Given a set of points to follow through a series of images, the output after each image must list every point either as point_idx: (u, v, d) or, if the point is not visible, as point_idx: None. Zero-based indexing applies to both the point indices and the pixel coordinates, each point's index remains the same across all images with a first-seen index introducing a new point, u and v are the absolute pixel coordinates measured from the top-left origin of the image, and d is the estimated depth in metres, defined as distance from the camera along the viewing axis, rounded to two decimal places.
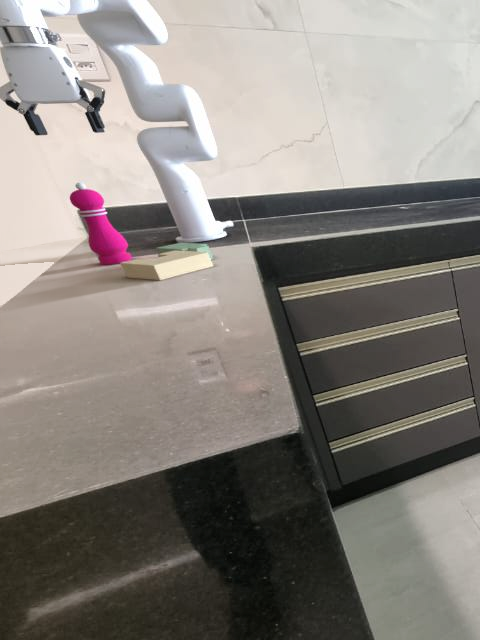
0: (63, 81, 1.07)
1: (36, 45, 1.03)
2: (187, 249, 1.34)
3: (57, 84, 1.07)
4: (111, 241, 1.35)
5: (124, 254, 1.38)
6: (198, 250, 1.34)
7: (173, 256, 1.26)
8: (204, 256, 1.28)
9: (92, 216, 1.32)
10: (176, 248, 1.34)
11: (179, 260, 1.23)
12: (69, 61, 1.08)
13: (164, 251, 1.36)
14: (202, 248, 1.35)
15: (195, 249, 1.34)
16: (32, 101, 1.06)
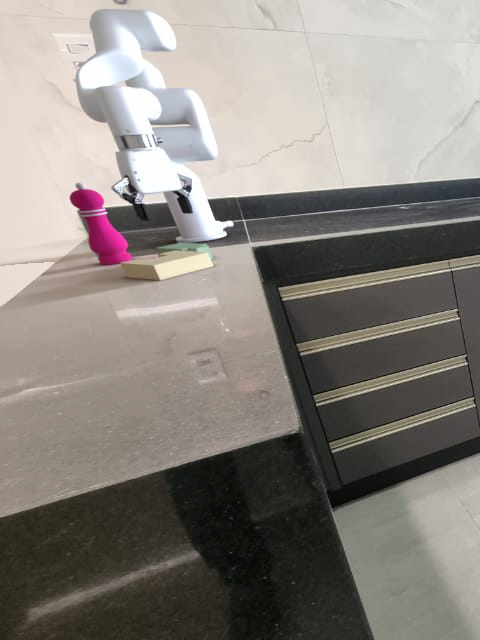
0: (173, 175, 1.32)
1: (158, 148, 1.28)
2: (187, 249, 1.34)
3: (169, 177, 1.31)
4: (111, 241, 1.35)
5: (124, 254, 1.38)
6: (198, 250, 1.34)
7: (173, 256, 1.26)
8: (204, 256, 1.28)
9: (92, 216, 1.32)
10: (176, 248, 1.34)
11: (179, 260, 1.23)
12: None
13: (164, 251, 1.36)
14: (202, 248, 1.35)
15: (195, 249, 1.34)
16: (149, 192, 1.28)
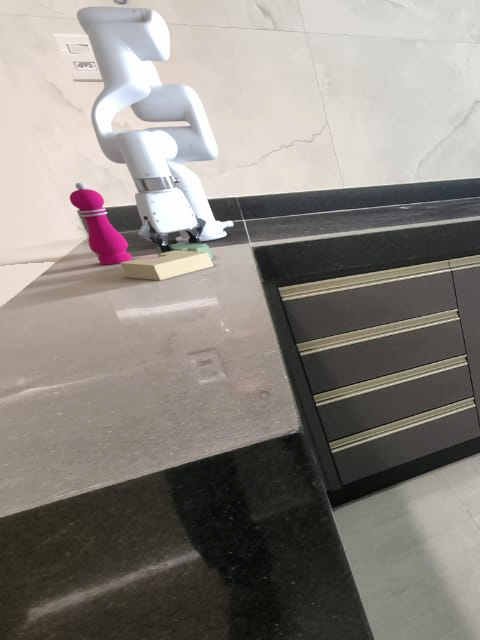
0: (189, 213, 1.36)
1: (175, 189, 1.32)
2: (187, 249, 1.34)
3: (186, 216, 1.36)
4: (111, 241, 1.35)
5: (124, 254, 1.38)
6: (198, 250, 1.34)
7: (173, 256, 1.26)
8: (204, 256, 1.28)
9: (92, 216, 1.32)
10: (176, 248, 1.34)
11: (179, 260, 1.23)
12: None
13: None
14: (202, 248, 1.35)
15: (195, 249, 1.34)
16: (167, 232, 1.32)
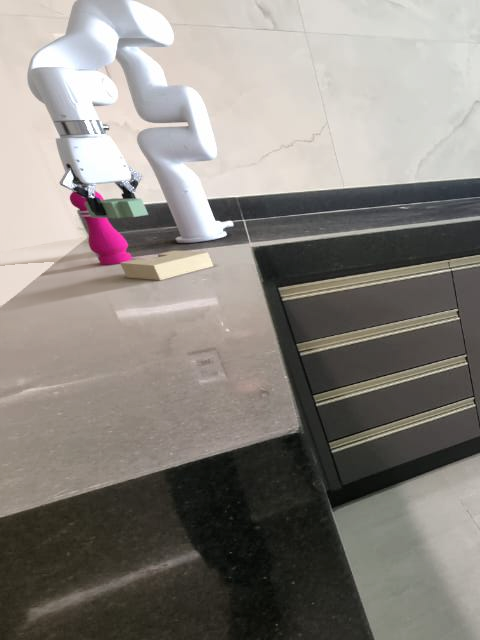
0: (121, 164, 1.23)
1: (103, 135, 1.19)
2: (117, 202, 1.21)
3: (117, 167, 1.22)
4: (111, 241, 1.35)
5: (124, 254, 1.38)
6: (129, 203, 1.21)
7: (173, 256, 1.26)
8: (204, 256, 1.28)
9: None
10: (105, 202, 1.21)
11: (179, 260, 1.23)
12: None
13: None
14: (134, 202, 1.21)
15: (126, 202, 1.20)
16: (94, 182, 1.19)
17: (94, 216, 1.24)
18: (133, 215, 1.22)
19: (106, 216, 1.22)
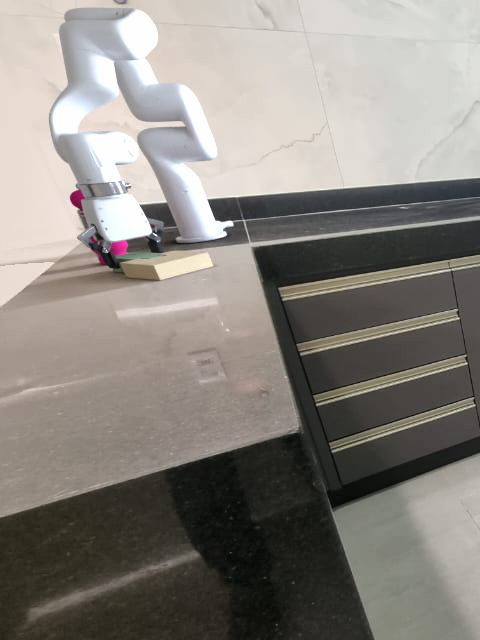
0: (142, 220, 1.28)
1: (126, 195, 1.24)
2: None
3: (138, 223, 1.27)
4: None
5: None
6: None
7: (173, 256, 1.26)
8: (204, 256, 1.28)
9: None
10: (128, 258, 1.26)
11: (179, 260, 1.23)
12: None
13: None
14: None
15: None
16: (117, 240, 1.24)
17: (117, 270, 1.29)
18: None
19: None
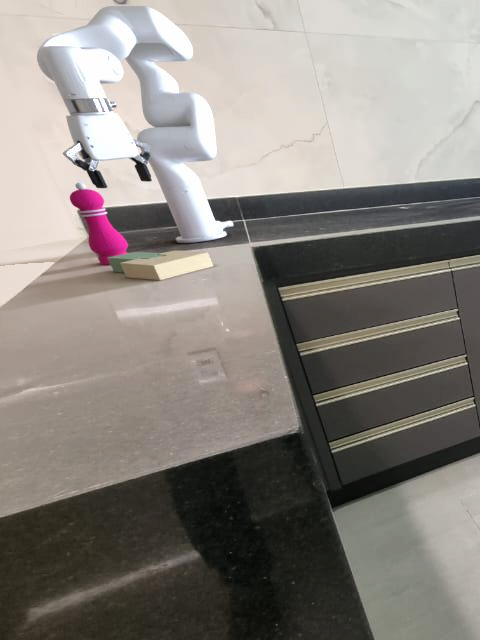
0: (128, 141, 1.28)
1: (111, 113, 1.24)
2: None
3: (124, 143, 1.27)
4: (111, 241, 1.35)
5: None
6: None
7: (173, 256, 1.26)
8: (204, 256, 1.28)
9: (92, 216, 1.32)
10: (128, 258, 1.26)
11: (179, 260, 1.23)
12: None
13: (115, 261, 1.27)
14: None
15: None
16: (104, 159, 1.24)
17: (117, 270, 1.29)
18: None
19: None
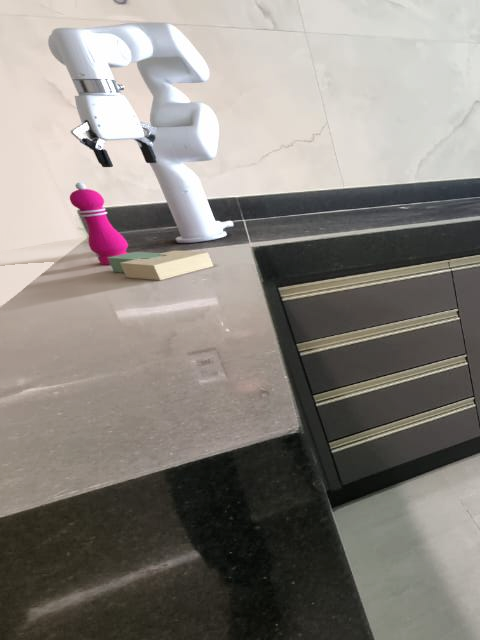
0: (135, 122, 1.32)
1: (119, 94, 1.28)
2: None
3: (131, 124, 1.31)
4: (111, 241, 1.35)
5: None
6: None
7: (173, 256, 1.26)
8: (204, 256, 1.28)
9: (92, 216, 1.32)
10: (128, 258, 1.26)
11: (179, 260, 1.23)
12: None
13: (115, 261, 1.27)
14: None
15: None
16: (110, 138, 1.28)
17: (117, 270, 1.29)
18: None
19: None
